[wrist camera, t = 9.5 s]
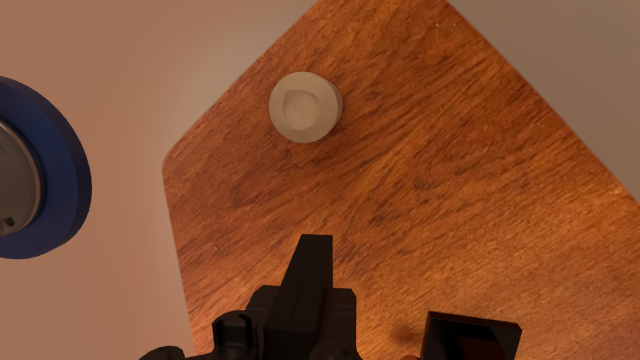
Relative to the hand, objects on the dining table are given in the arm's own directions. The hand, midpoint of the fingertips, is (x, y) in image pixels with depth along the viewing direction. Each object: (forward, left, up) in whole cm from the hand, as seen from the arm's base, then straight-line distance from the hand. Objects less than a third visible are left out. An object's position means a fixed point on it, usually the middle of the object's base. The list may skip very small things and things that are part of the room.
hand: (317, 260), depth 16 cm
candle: (-3, +7, -20) cm, 21 cm away
